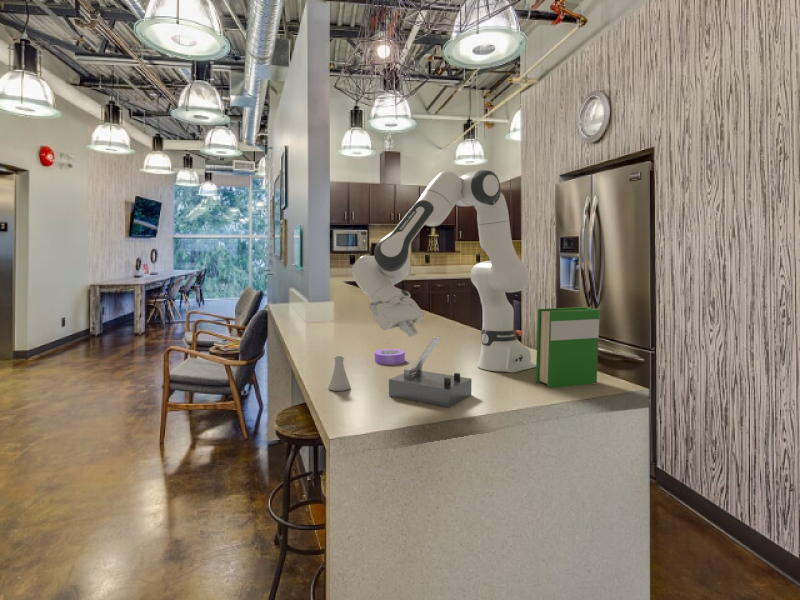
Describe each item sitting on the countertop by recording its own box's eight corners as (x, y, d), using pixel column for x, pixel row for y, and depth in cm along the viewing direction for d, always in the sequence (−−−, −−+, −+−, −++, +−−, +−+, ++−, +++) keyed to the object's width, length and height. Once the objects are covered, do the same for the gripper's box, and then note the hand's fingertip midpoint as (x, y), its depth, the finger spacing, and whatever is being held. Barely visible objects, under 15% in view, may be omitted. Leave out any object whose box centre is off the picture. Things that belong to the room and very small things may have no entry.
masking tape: (378, 366, 179) (378, 355, 178) (371, 359, 190) (371, 349, 189) (408, 363, 182) (408, 354, 182) (399, 357, 193) (399, 348, 193)
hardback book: (549, 388, 149) (551, 311, 146) (535, 381, 156) (537, 308, 153) (596, 383, 154) (599, 309, 152) (581, 377, 161) (584, 307, 159)
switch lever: (409, 377, 142) (406, 374, 143) (416, 374, 145) (413, 371, 146) (435, 340, 136) (431, 337, 137) (441, 338, 140) (438, 335, 140)
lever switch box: (388, 395, 141) (388, 370, 140) (413, 384, 152) (414, 361, 152) (449, 407, 130) (449, 380, 129) (471, 395, 141) (471, 370, 141)
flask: (332, 393, 144) (331, 360, 143) (324, 387, 150) (324, 355, 149) (354, 389, 147) (354, 357, 146) (346, 384, 153) (345, 353, 152)
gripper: (372, 296, 137) (401, 333, 132) (411, 291, 154) (437, 324, 149) (360, 310, 140) (388, 347, 135) (399, 304, 157) (424, 336, 152)
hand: (414, 334), depth 142 cm, fingers closed
